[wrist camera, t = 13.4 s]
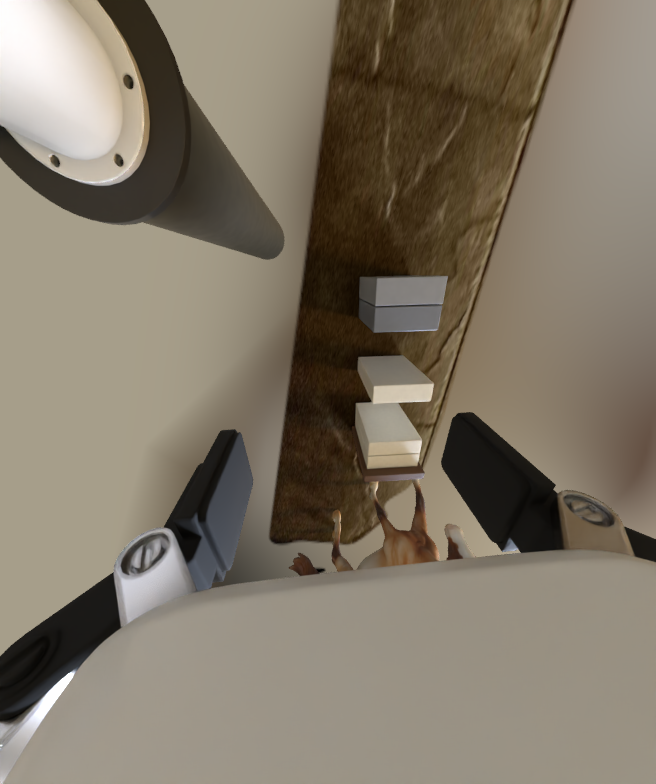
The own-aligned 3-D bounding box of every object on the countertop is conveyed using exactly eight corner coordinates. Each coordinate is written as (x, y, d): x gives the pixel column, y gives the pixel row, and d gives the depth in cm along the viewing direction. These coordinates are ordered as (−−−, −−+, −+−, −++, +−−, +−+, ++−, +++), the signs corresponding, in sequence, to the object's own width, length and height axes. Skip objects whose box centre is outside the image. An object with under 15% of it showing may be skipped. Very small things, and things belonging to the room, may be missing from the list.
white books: (351, 431, 36) (364, 482, 27) (352, 403, 34) (366, 449, 25) (396, 428, 36) (423, 479, 27) (400, 400, 34) (430, 445, 25)
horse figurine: (408, 436, 37) (501, 594, 19) (438, 459, 40) (546, 619, 21) (290, 535, 47) (275, 705, 28) (320, 549, 49) (324, 712, 31)
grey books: (358, 318, 29) (373, 332, 21) (359, 276, 26) (376, 277, 19) (407, 316, 29) (437, 330, 22) (412, 275, 27) (448, 275, 20)
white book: (357, 371, 32) (372, 403, 24) (358, 356, 31) (373, 386, 23) (401, 369, 32) (430, 401, 24) (403, 355, 31) (434, 383, 23)
